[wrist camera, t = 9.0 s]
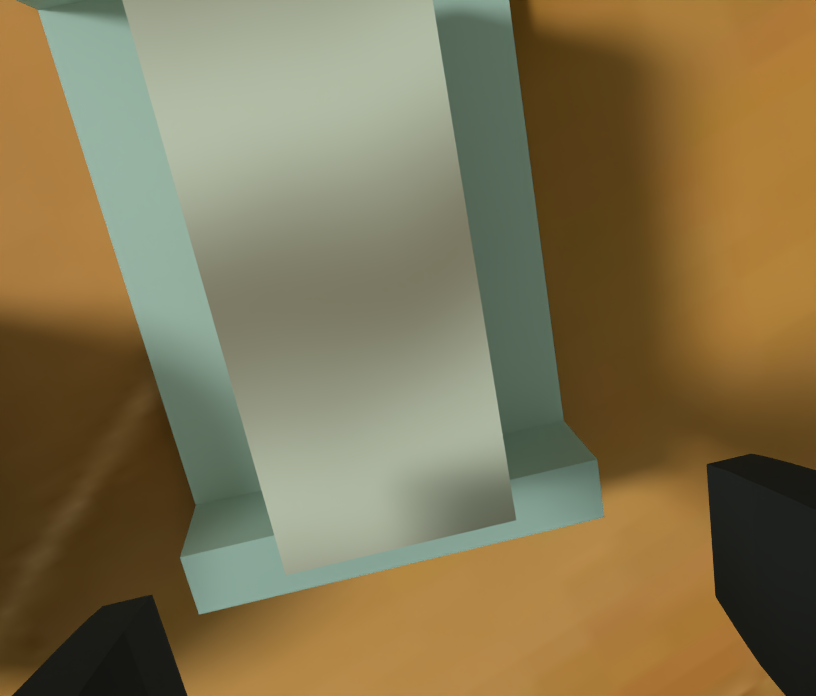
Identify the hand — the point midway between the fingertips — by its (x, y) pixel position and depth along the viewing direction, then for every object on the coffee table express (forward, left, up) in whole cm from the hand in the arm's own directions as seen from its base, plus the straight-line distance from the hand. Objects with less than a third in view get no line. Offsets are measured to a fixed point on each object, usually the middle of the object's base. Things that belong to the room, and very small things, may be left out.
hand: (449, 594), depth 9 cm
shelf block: (+3, +1, -8) cm, 9 cm away
